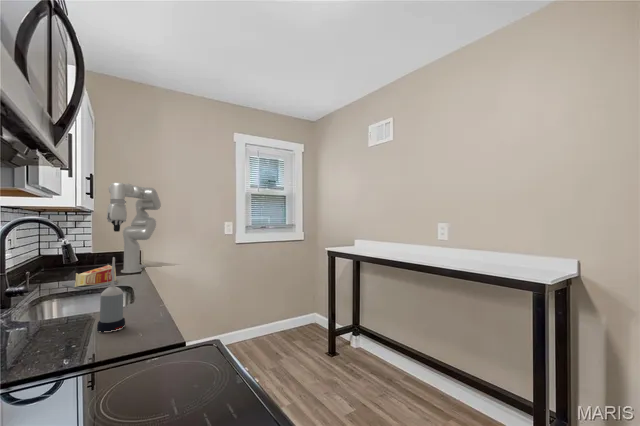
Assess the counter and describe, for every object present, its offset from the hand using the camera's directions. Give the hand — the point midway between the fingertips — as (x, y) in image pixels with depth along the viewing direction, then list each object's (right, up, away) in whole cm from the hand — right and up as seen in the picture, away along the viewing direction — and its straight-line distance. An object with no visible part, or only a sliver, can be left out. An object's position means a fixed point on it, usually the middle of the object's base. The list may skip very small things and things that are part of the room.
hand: (116, 231), depth 197 cm
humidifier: (+55, -29, -87) cm, 107 cm away
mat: (-1, -29, -20) cm, 35 cm away
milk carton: (+4, -23, -12) cm, 27 cm away
